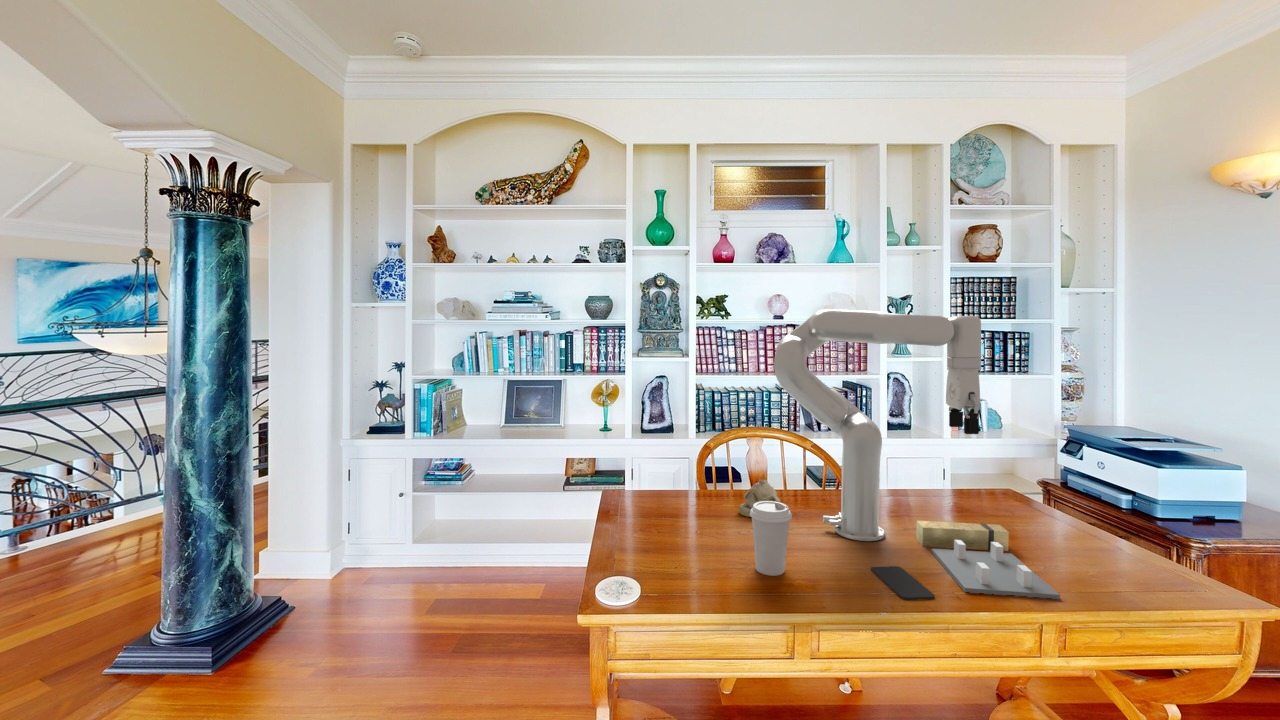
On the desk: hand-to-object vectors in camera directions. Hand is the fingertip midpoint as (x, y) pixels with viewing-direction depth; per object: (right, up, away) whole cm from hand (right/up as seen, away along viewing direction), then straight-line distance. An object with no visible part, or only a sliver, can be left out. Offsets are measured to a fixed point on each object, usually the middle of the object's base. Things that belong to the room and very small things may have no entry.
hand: (963, 430), depth 144 cm
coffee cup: (-53, -31, -14) cm, 63 cm away
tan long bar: (-1, -30, -1) cm, 30 cm away
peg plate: (-4, -31, -17) cm, 35 cm away
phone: (-26, -32, -21) cm, 46 cm away
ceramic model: (-47, -28, +26) cm, 61 cm away
